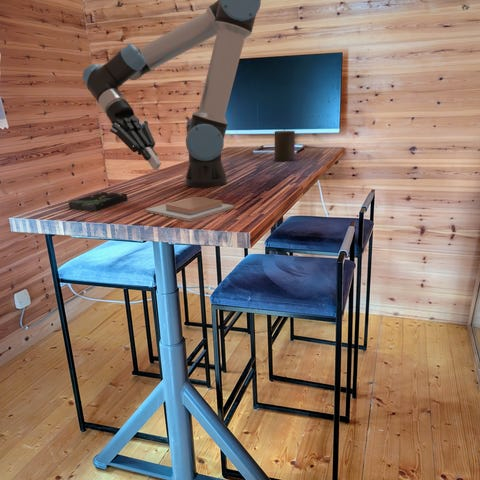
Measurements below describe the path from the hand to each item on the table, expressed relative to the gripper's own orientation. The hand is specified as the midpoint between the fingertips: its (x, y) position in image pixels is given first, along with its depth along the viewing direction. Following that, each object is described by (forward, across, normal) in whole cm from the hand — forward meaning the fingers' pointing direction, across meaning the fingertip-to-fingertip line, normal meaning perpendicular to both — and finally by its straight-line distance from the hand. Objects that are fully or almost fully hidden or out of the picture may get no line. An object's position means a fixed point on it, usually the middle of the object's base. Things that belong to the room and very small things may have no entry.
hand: (157, 166), depth 129 cm
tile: (+14, 0, 0) cm, 14 cm away
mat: (+17, 0, +1) cm, 17 cm away
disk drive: (-3, +10, -20) cm, 23 cm away
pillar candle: (-7, -96, -24) cm, 99 cm away
